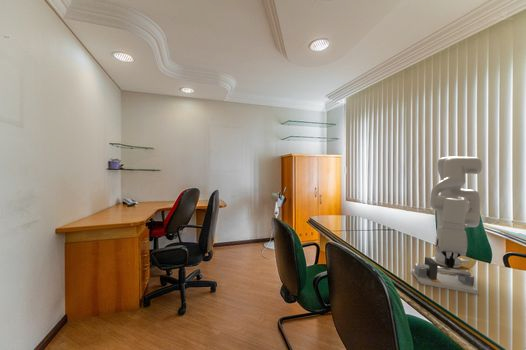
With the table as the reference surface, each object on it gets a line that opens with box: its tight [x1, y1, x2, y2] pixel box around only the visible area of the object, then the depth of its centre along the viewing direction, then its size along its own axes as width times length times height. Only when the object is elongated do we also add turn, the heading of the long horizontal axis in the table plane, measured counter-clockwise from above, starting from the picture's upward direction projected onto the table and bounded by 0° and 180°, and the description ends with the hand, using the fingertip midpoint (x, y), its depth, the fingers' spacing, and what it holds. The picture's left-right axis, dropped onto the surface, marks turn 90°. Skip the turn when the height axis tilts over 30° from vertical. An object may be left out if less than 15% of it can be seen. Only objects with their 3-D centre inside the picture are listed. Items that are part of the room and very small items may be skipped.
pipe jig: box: [411, 262, 479, 295], centre depth 98 cm, size 20×12×7 cm, turn 73°
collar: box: [423, 256, 439, 280], centre depth 99 cm, size 2×7×7 cm, turn 163°
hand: (449, 266), depth 97 cm, fingers closed
